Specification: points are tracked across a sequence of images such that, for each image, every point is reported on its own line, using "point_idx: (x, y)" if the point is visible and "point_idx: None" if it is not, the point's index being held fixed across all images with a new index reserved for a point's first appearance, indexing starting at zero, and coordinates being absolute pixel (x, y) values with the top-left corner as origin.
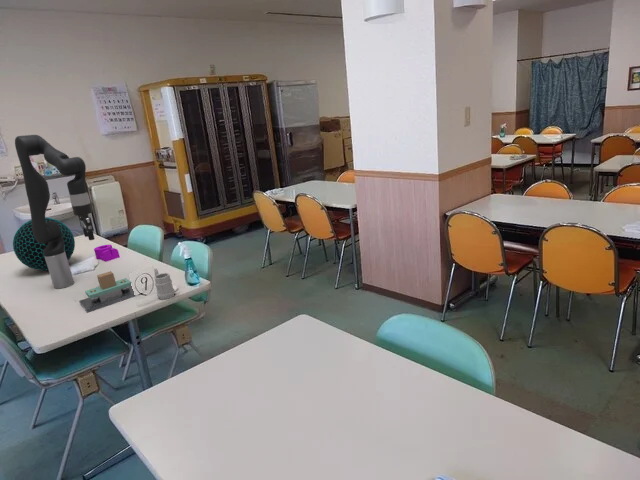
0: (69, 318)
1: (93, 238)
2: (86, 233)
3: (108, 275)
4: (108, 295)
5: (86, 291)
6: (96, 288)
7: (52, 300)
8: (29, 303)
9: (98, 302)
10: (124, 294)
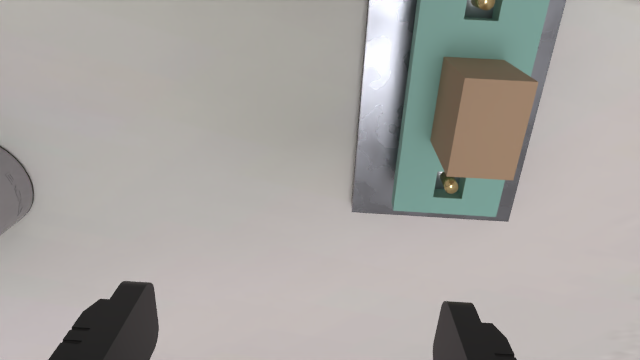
0: (482, 273)
1: (492, 328)
2: (137, 355)
3: (525, 116)
4: None
5: (409, 207)
6: (420, 159)
7: (180, 265)
8: None
9: None
10: None
